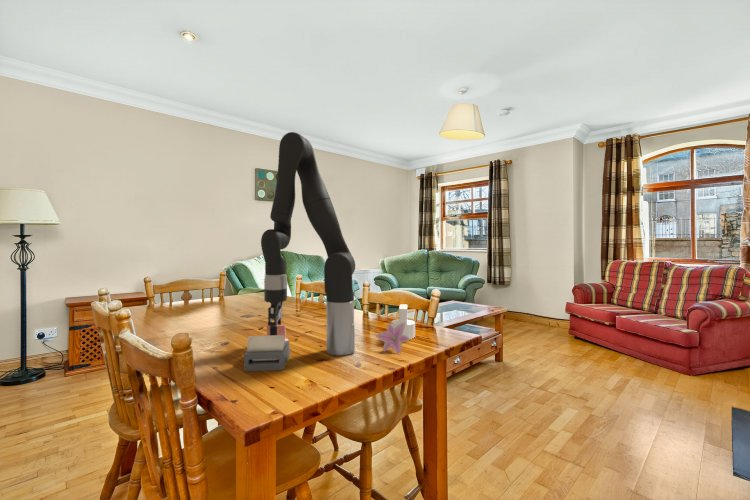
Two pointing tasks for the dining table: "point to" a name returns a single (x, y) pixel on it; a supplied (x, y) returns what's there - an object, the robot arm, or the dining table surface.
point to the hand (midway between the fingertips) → (275, 333)
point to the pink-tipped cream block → (280, 331)
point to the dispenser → (266, 353)
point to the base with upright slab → (409, 324)
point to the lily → (393, 337)
